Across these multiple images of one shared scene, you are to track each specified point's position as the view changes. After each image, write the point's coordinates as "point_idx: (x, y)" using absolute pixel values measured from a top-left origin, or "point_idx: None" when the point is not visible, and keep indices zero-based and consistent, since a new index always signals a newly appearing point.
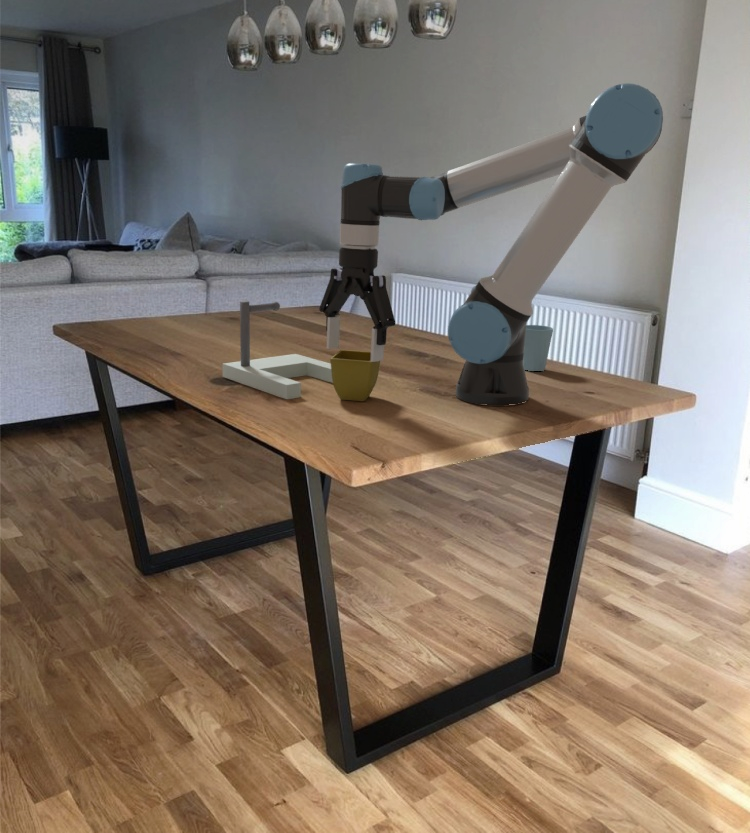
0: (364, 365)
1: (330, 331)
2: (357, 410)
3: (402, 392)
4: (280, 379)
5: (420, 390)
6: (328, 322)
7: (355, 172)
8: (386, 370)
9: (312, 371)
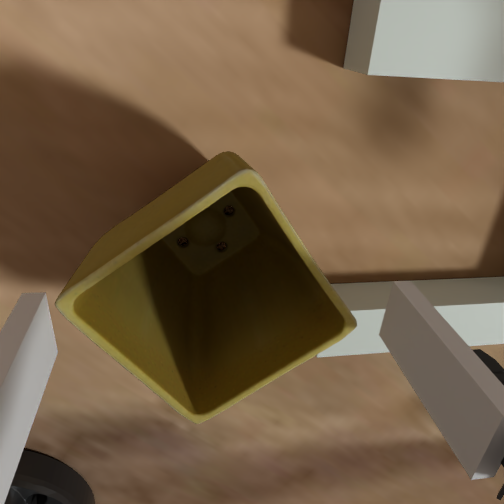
0: (91, 268)
1: (441, 349)
2: (51, 117)
3: None
4: (471, 36)
5: (161, 420)
6: (492, 385)
7: None
8: (374, 456)
9: (497, 287)
